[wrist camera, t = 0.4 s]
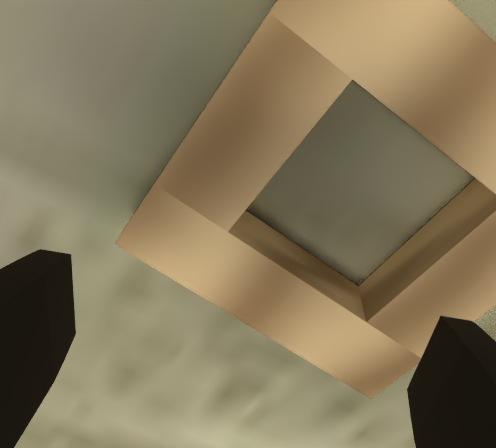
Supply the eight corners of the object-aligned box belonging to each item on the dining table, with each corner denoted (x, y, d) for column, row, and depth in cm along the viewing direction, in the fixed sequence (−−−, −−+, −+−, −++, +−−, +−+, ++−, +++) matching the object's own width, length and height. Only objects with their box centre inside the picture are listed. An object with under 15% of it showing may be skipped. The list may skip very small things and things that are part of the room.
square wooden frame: (607, 159, 17) (653, 186, 15) (363, 358, 23) (370, 399, 21) (334, -86, 14) (342, -97, 12) (133, 214, 20) (113, 243, 18)
